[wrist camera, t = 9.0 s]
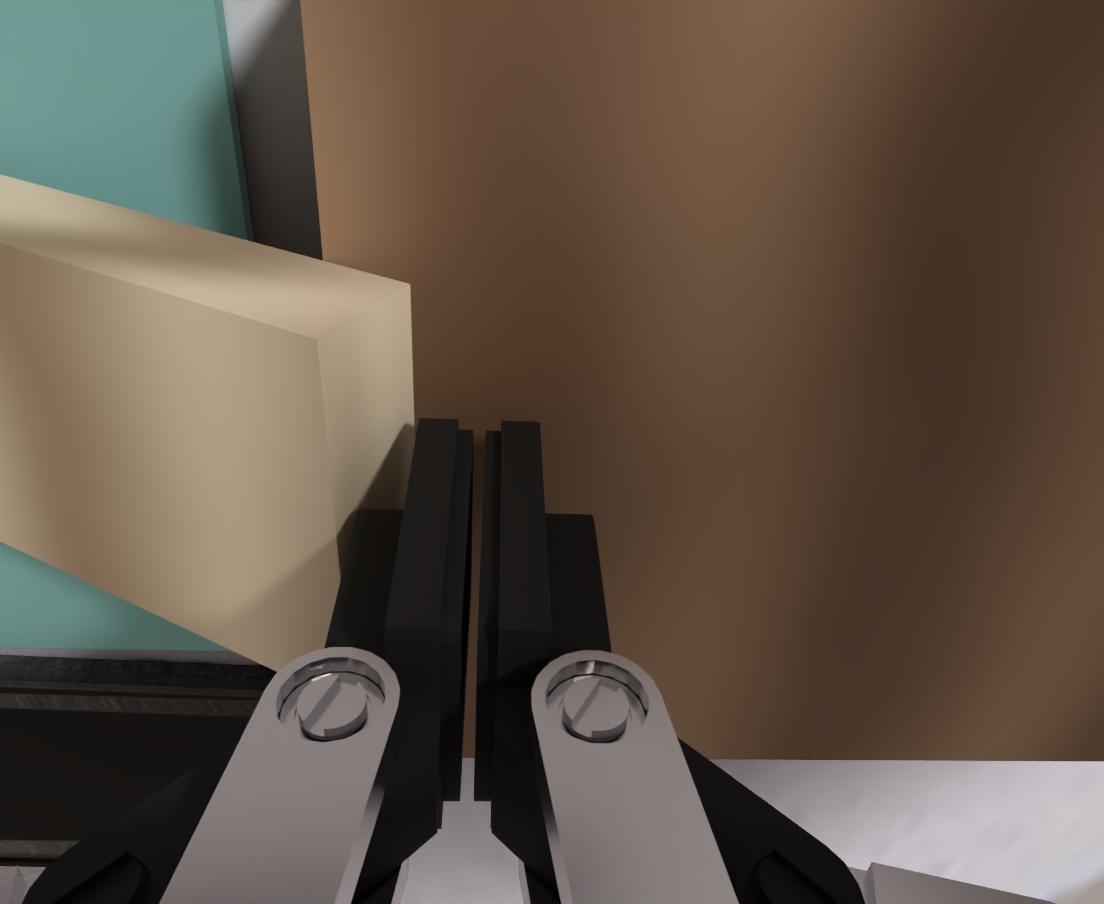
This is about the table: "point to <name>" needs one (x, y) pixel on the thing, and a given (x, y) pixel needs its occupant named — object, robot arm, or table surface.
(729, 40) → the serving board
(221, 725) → the phone
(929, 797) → the table surface
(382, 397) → the coaster tile
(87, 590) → the rubber mat
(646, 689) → the robot arm
